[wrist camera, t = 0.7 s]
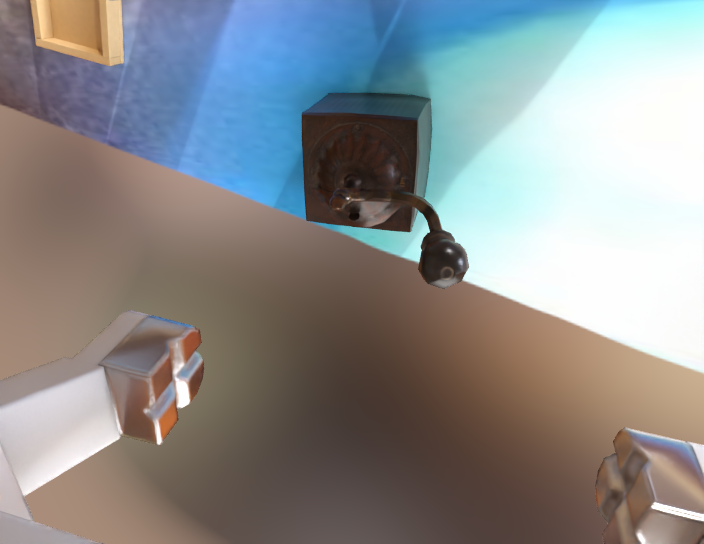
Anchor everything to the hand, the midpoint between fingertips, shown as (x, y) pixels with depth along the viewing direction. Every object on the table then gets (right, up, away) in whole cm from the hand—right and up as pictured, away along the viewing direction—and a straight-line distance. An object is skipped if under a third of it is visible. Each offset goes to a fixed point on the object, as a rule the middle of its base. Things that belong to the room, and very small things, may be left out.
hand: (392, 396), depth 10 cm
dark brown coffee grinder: (+4, +15, +42) cm, 45 cm away
